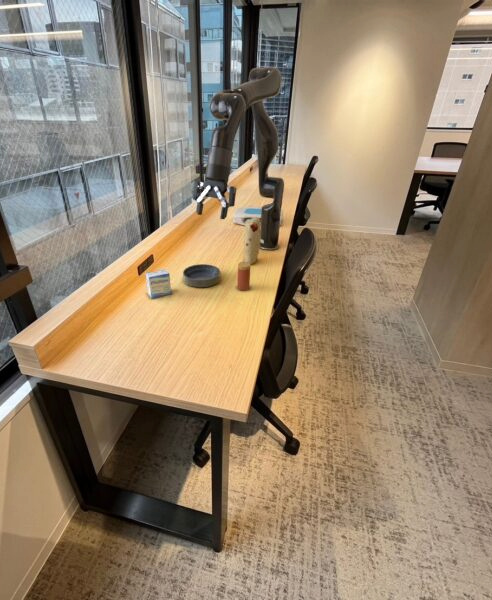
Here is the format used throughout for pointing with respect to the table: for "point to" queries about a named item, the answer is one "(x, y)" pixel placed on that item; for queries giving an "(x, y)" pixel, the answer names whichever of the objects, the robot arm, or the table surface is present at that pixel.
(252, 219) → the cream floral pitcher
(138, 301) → the table surface
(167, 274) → the medicine box
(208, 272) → the bowl
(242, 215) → the document scanner
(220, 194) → the robot arm
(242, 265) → the pill bottle
